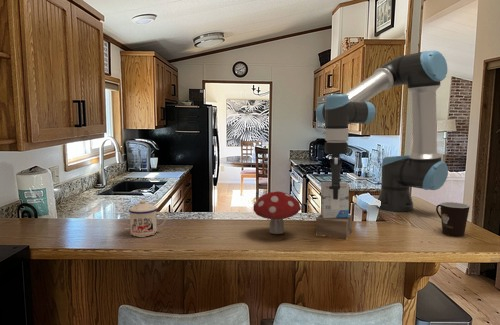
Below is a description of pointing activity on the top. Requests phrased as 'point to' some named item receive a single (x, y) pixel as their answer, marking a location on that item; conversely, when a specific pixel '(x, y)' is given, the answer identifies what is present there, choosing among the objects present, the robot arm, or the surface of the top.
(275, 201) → the decorative mushroom
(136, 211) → the teacup with lid
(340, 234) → the taupe block
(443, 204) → the coffee mug
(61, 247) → the top surface
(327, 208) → the ink box
